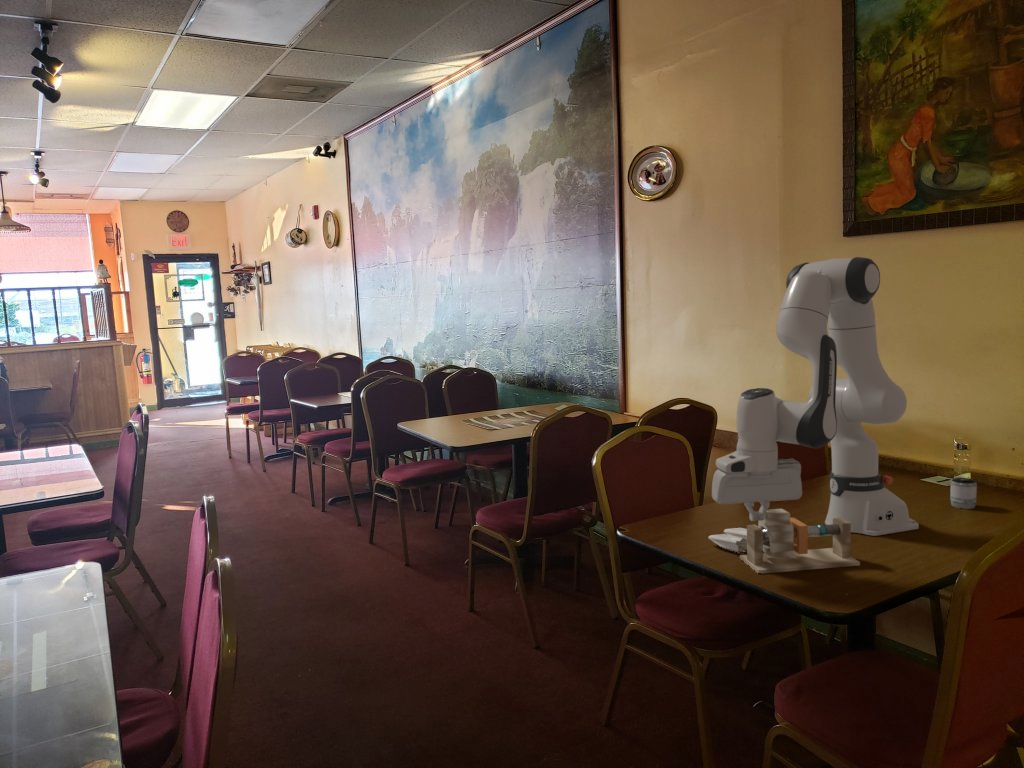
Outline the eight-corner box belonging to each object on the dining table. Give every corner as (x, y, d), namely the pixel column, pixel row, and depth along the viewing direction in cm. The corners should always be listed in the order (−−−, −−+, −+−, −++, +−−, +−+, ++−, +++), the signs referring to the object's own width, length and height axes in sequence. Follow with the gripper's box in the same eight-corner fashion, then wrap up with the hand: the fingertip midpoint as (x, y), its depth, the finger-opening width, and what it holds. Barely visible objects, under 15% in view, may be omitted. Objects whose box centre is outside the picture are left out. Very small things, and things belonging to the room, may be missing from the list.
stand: (835, 550, 173) (835, 514, 172) (860, 565, 163) (860, 526, 163) (739, 558, 171) (739, 521, 170) (758, 573, 161) (758, 534, 160)
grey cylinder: (981, 509, 201) (981, 481, 200) (958, 509, 201) (959, 482, 200) (967, 503, 207) (968, 476, 207) (945, 503, 208) (945, 477, 207)
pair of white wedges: (771, 547, 178) (736, 536, 188) (770, 530, 178) (736, 521, 188) (736, 557, 173) (702, 545, 182) (735, 540, 172) (702, 529, 182)
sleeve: (778, 546, 170) (778, 506, 169) (793, 556, 163) (793, 515, 162) (758, 547, 170) (758, 508, 169) (772, 557, 163) (772, 516, 162)
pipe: (834, 533, 169) (834, 522, 169) (840, 536, 166) (840, 525, 166) (756, 539, 167) (756, 528, 167) (761, 542, 164) (761, 531, 164)
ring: (793, 544, 170) (793, 517, 169) (807, 553, 164) (807, 525, 163) (785, 545, 170) (785, 518, 169) (799, 554, 164) (799, 526, 163)
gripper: (793, 455, 168) (793, 513, 169) (708, 460, 166) (709, 519, 167) (807, 460, 162) (807, 521, 163) (719, 466, 159) (719, 527, 161)
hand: (757, 520), depth 165 cm, fingers closed
